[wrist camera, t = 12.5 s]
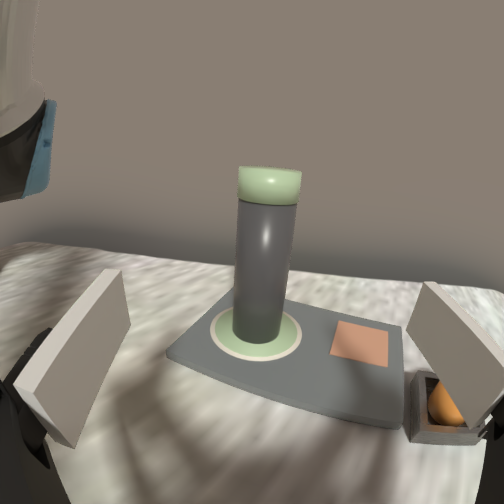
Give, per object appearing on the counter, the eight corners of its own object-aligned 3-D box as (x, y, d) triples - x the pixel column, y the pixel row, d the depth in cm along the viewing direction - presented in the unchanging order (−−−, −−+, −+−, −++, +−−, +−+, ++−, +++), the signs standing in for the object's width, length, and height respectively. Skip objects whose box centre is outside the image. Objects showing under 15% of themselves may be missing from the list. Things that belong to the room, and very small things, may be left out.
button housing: (409, 442, 13) (420, 430, 12) (410, 383, 18) (418, 370, 17) (475, 445, 11) (486, 433, 10) (466, 391, 16) (475, 378, 15)
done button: (428, 425, 13) (445, 403, 12) (426, 386, 16) (439, 363, 15) (471, 428, 11) (489, 407, 11) (465, 391, 15) (479, 369, 14)
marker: (222, 334, 22) (227, 167, 17) (243, 309, 26) (253, 164, 21) (270, 350, 21) (292, 175, 16) (286, 322, 24) (307, 171, 19)
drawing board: (167, 357, 20) (165, 348, 20) (234, 291, 30) (234, 284, 30) (398, 429, 14) (403, 422, 13) (398, 333, 24) (401, 325, 24)
